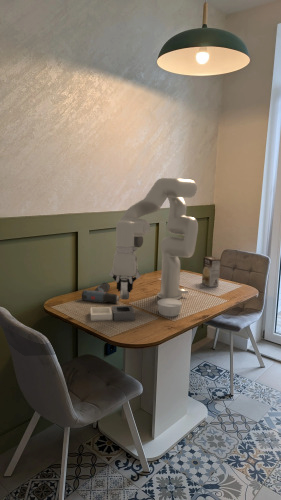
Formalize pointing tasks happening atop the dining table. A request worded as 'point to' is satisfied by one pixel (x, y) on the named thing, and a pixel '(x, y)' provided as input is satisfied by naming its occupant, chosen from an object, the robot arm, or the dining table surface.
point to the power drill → (100, 294)
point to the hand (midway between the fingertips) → (124, 290)
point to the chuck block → (123, 313)
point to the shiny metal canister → (124, 288)
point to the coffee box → (211, 271)
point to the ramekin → (169, 307)
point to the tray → (100, 313)
